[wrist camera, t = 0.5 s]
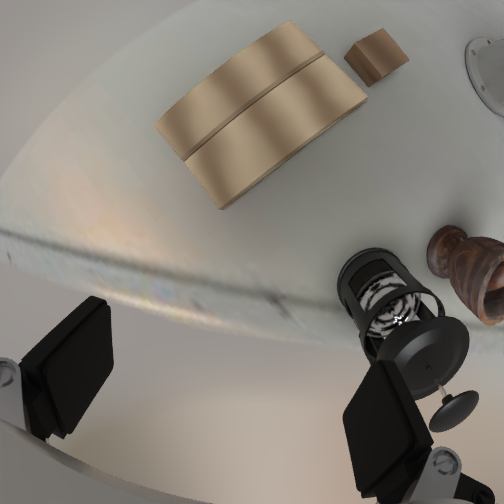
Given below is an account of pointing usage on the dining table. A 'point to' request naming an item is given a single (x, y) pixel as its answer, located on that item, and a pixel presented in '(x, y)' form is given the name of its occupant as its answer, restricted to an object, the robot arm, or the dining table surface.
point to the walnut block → (375, 57)
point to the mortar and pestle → (471, 270)
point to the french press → (408, 333)
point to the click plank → (274, 130)
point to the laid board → (236, 87)
